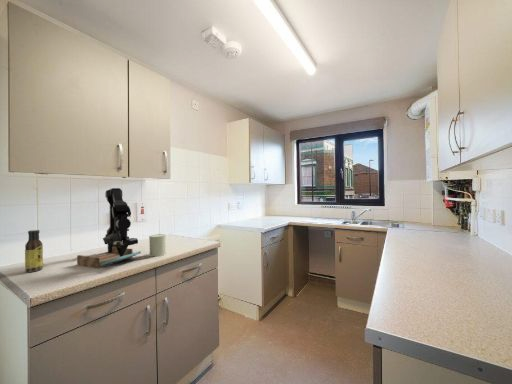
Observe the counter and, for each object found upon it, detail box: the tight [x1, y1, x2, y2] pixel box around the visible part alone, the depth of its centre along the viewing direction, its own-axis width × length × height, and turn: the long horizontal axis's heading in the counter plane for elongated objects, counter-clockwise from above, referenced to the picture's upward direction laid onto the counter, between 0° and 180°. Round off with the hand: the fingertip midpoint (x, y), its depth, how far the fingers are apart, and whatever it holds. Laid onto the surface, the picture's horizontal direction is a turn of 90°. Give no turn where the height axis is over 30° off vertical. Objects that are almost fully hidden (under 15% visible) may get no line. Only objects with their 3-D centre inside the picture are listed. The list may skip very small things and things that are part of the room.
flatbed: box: [76, 247, 134, 269], centre depth 126 cm, size 16×20×5 cm
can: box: [148, 233, 167, 257], centre depth 138 cm, size 9×9×12 cm
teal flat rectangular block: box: [100, 250, 142, 267], centre depth 122 cm, size 2×17×8 cm
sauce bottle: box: [24, 229, 44, 273], centre depth 113 cm, size 6×6×20 cm
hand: (121, 257), depth 122 cm, fingers closed, pressing on teal flat rectangular block
